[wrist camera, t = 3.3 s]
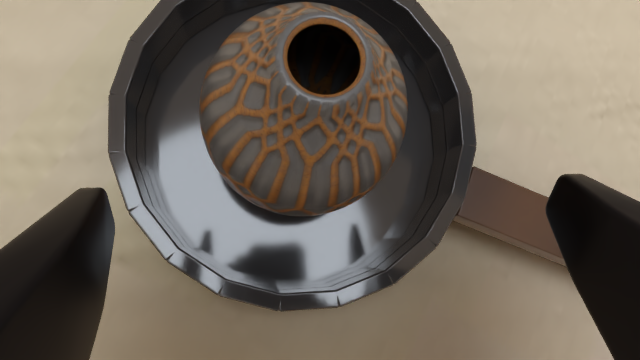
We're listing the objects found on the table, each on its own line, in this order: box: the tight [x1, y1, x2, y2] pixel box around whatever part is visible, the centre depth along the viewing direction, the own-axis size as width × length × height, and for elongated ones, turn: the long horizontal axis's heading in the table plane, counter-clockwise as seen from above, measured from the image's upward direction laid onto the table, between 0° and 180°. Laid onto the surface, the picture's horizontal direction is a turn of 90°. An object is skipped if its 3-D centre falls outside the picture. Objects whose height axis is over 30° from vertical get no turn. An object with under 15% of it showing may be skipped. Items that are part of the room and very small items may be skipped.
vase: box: [199, 2, 408, 216], centre depth 16 cm, size 7×7×9 cm
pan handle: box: [453, 167, 567, 267], centre depth 19 cm, size 10×2×2 cm, turn 69°
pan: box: [108, 0, 476, 311], centre depth 19 cm, size 13×13×3 cm
